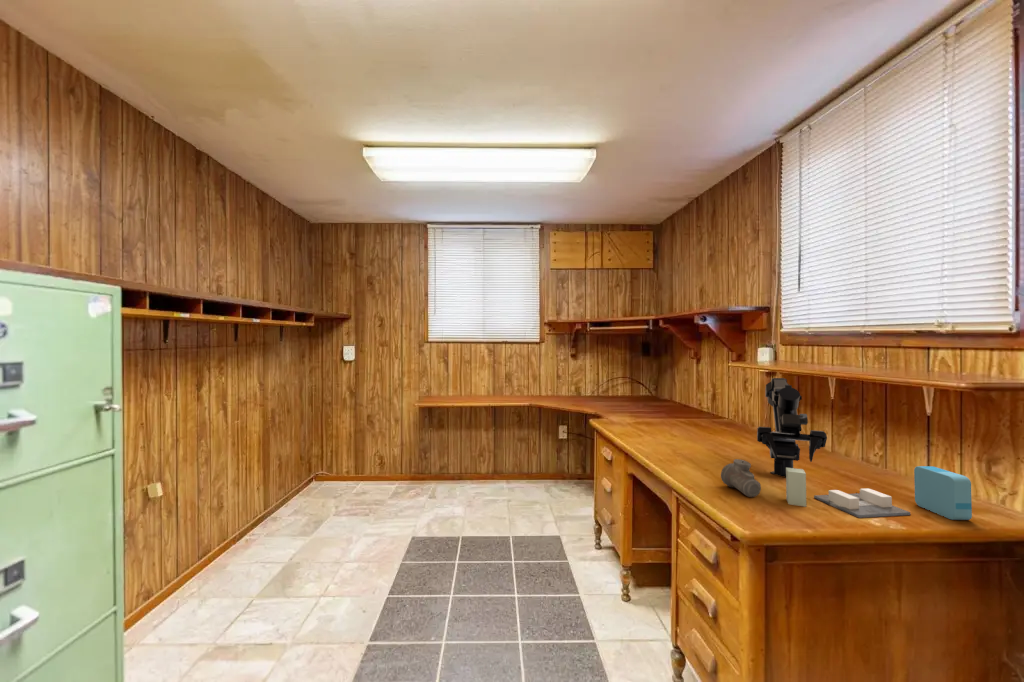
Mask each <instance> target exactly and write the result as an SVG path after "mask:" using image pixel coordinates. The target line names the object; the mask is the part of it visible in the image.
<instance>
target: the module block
mask: <svg viewBox="0 0 1024 682" xmlns="http://www.w3.org/2000/svg"><path fill="white" fill-rule="evenodd" d="M785 485H786V486H785V495H786V498H785V499H786V501H787V504H788V505H792V506H799V507H804V508H806V507H807V473H806V472H805V470H804V469H803V468H795V467H793V468H786V478H785Z"/></svg>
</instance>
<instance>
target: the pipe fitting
mask: <svg viewBox="0 0 1024 682" xmlns="http://www.w3.org/2000/svg"><path fill="white" fill-rule="evenodd" d="M751 467H752V463H750V461H748V460H744V459H737V458H736V459H735V458H734V459H733V463H727V464H726V465H725V466H723V468H722V469H721V472H720V479H721V482H722V483H723V484H725V485H727V486H728V487H729V488H735V489H736V490H738V491H739V492H741V493H742V494H743V495H745V496H747V497H748V498H755V497H757V496H759V494H760V492H761V490H762V485H761V484H760V482H759V481H758V480H757V479H756V478H755V474H754V473H752V472H751V471H750V468H751Z"/></svg>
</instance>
